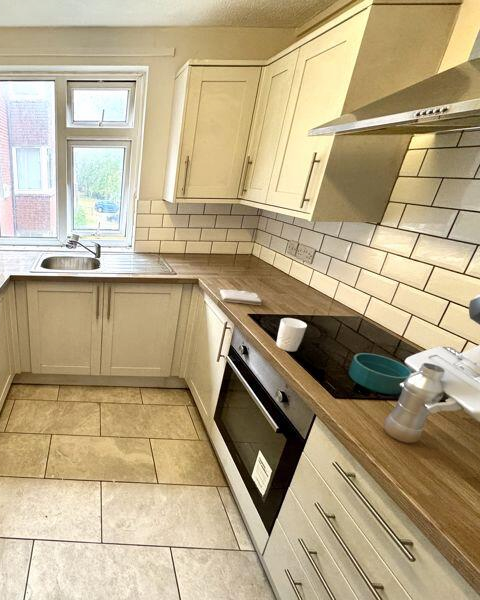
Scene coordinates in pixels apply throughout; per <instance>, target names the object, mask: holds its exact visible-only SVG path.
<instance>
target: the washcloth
mask: <svg viewBox="0 0 480 600" xmlns="http://www.w3.org/2000/svg"><path fill="white" fill-rule="evenodd" d="M219 294H220V296H221V299H222V301H223V302H226V303H232V304H233V303H235V304H245V305H251V306H261V305H262V302H263V300H262V299H261V298H260V296H259V294H257V293H256V292H249V291H246V290H236V289H220V290H219Z"/></svg>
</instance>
